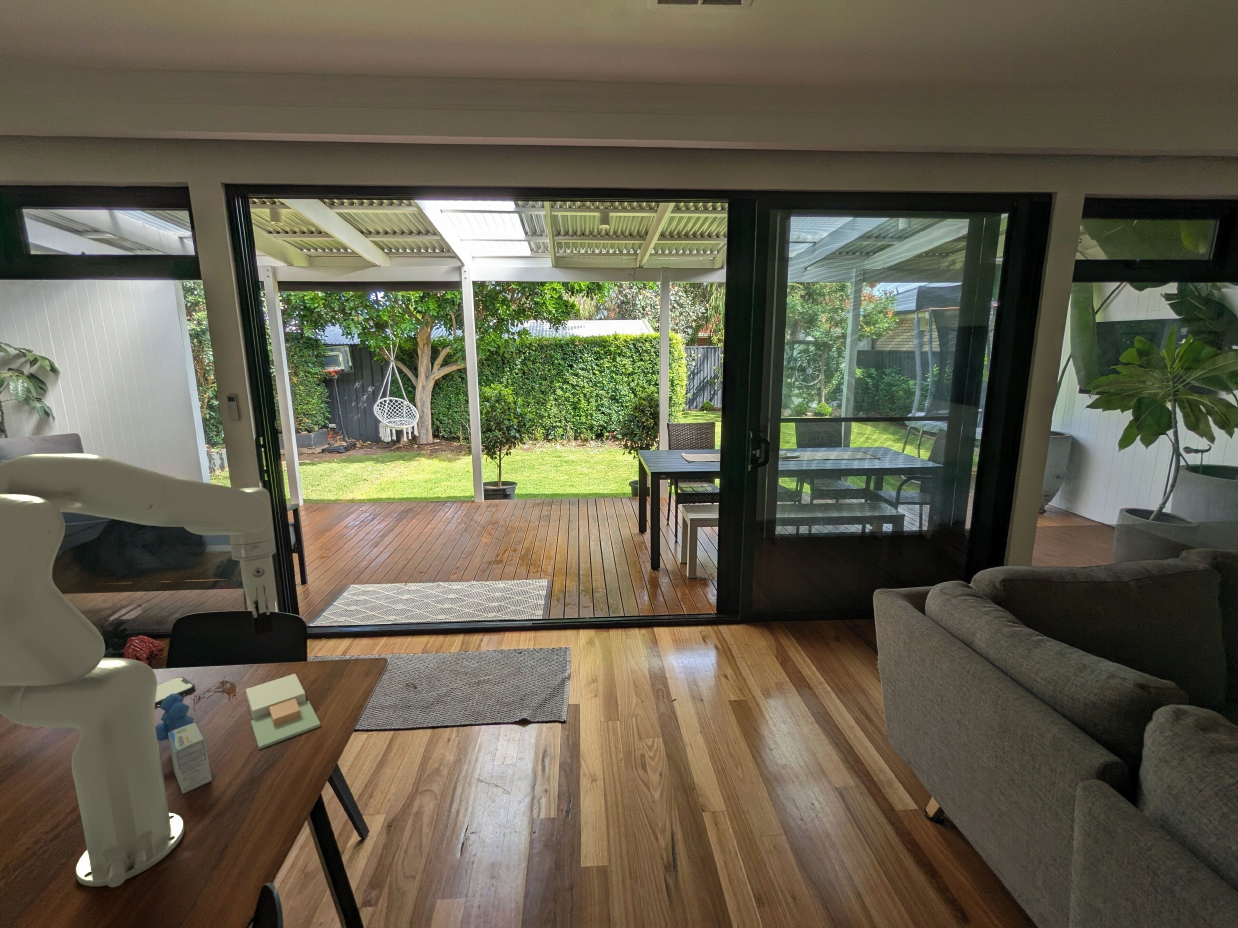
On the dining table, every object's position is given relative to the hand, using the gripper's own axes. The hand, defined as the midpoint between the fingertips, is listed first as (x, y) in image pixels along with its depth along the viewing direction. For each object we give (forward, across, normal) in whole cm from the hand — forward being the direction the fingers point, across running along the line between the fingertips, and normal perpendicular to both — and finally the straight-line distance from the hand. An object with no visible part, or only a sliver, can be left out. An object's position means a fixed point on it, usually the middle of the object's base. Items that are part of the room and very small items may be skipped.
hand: (263, 632), depth 114 cm
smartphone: (+21, +27, +21) cm, 40 cm away
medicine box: (+21, -10, +14) cm, 27 cm away
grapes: (+21, 0, +16) cm, 26 cm away
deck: (+20, +8, -2) cm, 22 cm away
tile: (+20, 0, -2) cm, 20 cm away
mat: (+20, -4, -2) cm, 21 cm away
